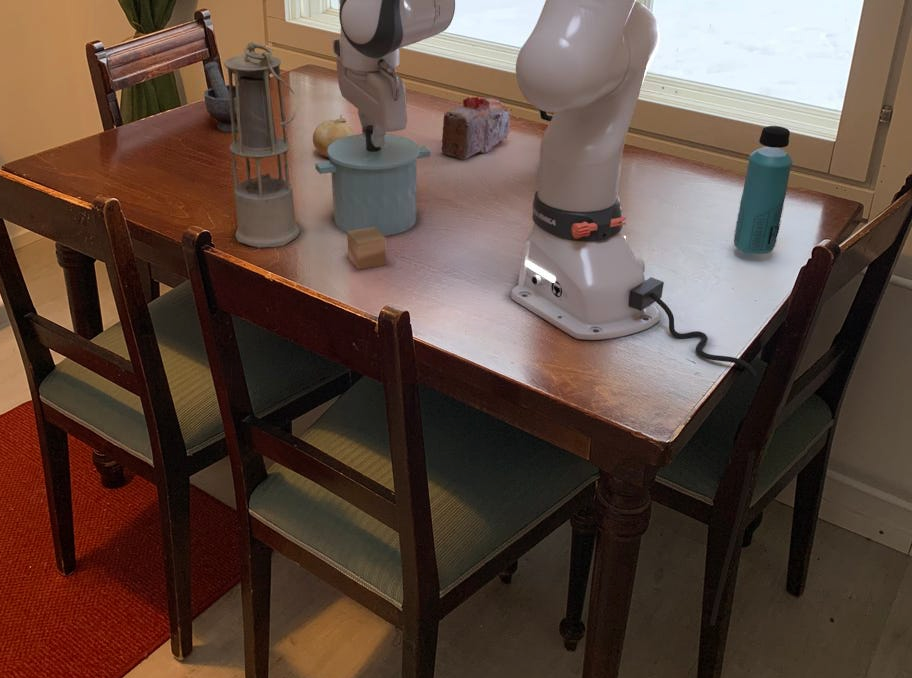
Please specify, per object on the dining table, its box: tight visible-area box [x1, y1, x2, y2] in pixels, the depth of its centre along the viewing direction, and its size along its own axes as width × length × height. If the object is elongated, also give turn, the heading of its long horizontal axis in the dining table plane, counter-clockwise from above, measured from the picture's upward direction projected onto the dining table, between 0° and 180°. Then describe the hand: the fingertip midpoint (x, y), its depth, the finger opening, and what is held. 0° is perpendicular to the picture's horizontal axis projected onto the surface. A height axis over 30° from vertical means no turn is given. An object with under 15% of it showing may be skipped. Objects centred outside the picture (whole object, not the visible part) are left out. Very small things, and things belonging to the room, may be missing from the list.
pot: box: [314, 145, 432, 237], centre depth 164 cm, size 14×19×12 cm
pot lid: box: [327, 125, 420, 170], centre depth 160 cm, size 15×15×5 cm
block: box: [346, 227, 387, 271], centre depth 153 cm, size 4×4×4 cm
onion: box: [312, 114, 356, 159], centre depth 190 cm, size 8×8×7 cm
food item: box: [440, 96, 511, 161], centre depth 192 cm, size 14×8×10 cm, turn 142°
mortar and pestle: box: [203, 61, 242, 132], centre depth 201 cm, size 11×9×12 cm
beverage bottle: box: [733, 125, 793, 255], centre depth 151 cm, size 6×7×20 cm
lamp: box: [223, 41, 301, 249], centre depth 153 cm, size 10×13×30 cm
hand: (373, 141), depth 160 cm, fingers closed on pot lid, 2 cm apart
